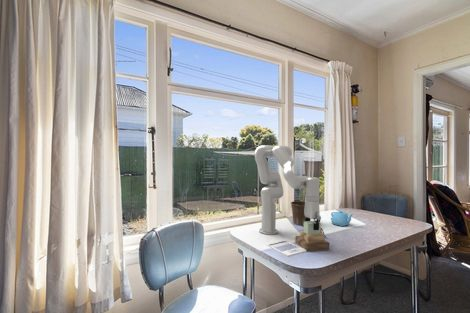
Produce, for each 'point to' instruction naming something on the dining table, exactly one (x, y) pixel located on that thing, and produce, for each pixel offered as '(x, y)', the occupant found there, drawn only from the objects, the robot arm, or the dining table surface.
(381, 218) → the dining table surface
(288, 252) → the photo frame
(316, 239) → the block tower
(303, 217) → the plant pot
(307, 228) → the sage brick
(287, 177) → the robot arm
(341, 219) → the teapot
